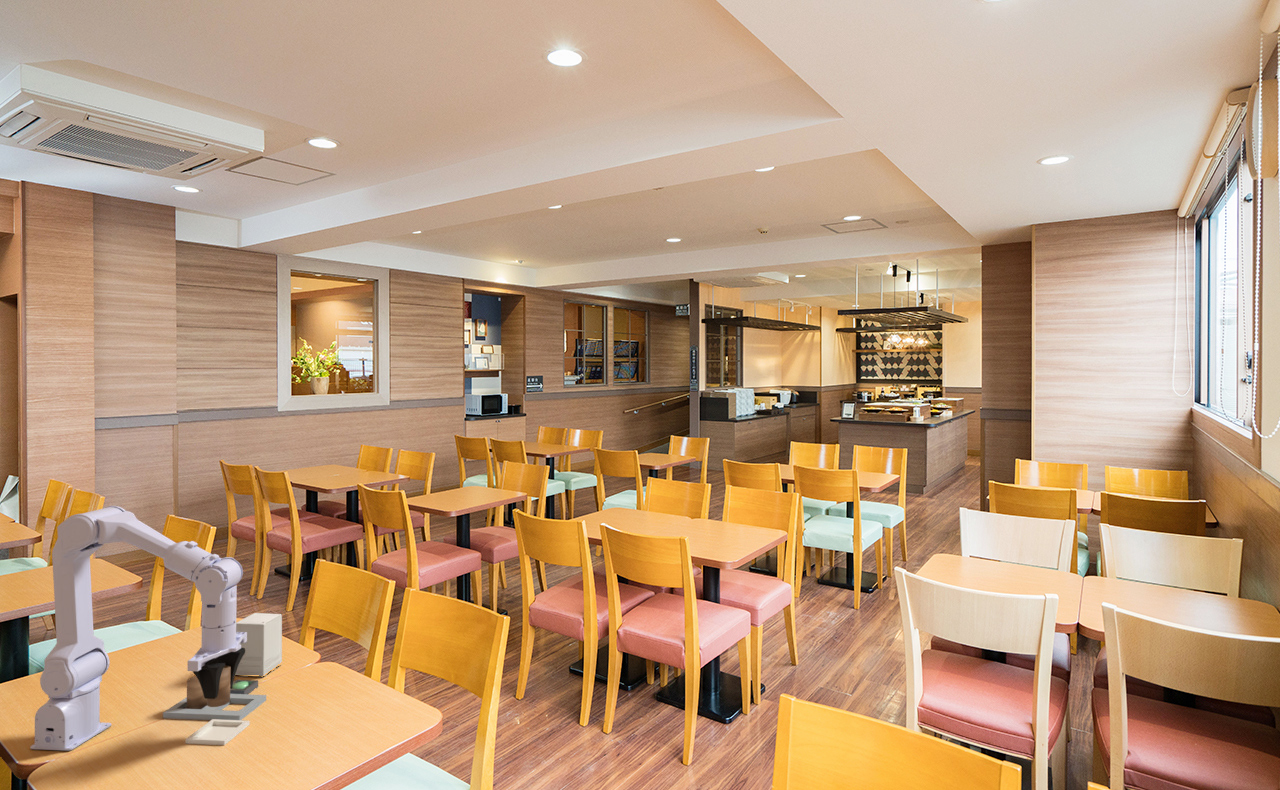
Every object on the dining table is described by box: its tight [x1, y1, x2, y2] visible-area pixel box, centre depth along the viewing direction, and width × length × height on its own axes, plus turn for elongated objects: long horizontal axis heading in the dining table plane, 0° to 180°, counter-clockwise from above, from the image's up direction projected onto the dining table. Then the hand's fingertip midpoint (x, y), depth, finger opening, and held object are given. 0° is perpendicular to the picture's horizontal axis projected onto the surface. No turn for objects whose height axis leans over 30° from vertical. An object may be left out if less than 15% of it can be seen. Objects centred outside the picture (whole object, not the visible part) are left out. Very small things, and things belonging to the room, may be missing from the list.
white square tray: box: [184, 719, 251, 746], centre depth 131 cm, size 8×8×1 cm
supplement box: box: [235, 612, 283, 676], centre depth 160 cm, size 7×7×13 cm
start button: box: [233, 681, 248, 689], centre depth 149 cm, size 3×3×2 cm
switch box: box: [230, 679, 259, 694], centre depth 149 cm, size 5×5×2 cm
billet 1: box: [186, 675, 207, 709], centre depth 141 cm, size 4×4×6 cm
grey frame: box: [162, 693, 267, 721], centre depth 141 cm, size 9×16×2 cm, turn 88°
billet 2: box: [207, 665, 231, 707], centre depth 131 cm, size 4×4×6 cm
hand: (218, 692), depth 131 cm, fingers closed on billet 2, 4 cm apart
